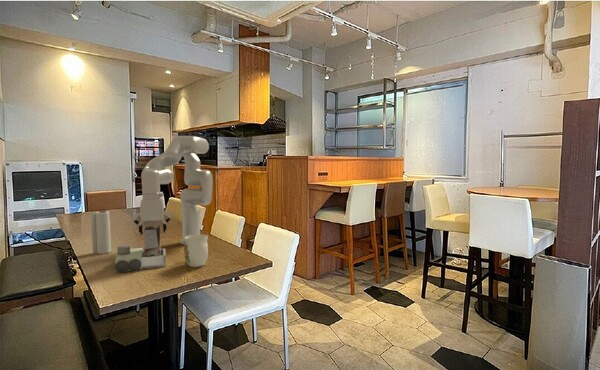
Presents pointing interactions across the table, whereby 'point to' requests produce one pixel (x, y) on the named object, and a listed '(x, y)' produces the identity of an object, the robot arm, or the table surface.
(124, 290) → the table surface
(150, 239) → the coffee box
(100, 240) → the grey tall block
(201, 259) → the pitcher
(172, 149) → the robot arm
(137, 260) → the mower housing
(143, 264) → the grey open drawer
